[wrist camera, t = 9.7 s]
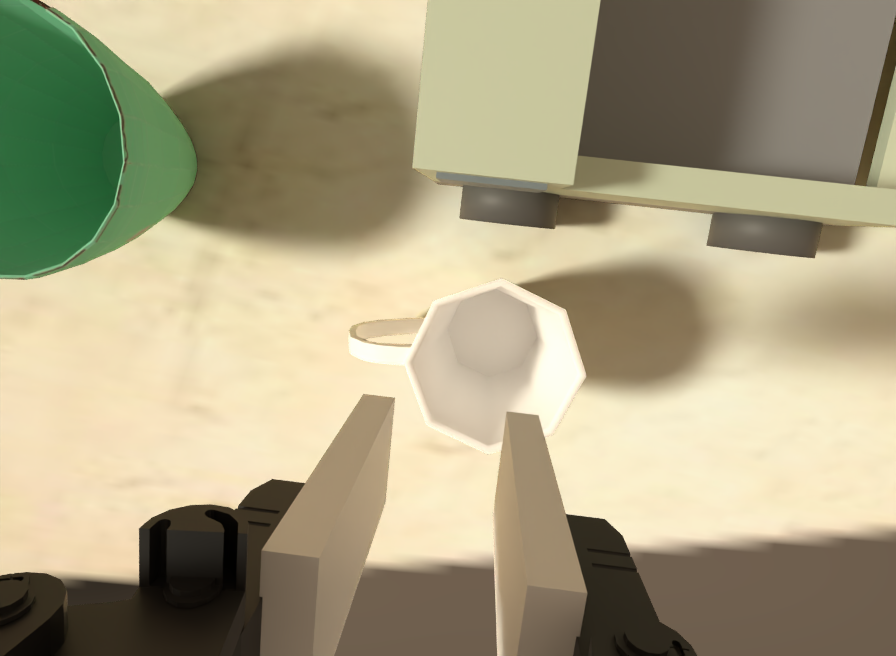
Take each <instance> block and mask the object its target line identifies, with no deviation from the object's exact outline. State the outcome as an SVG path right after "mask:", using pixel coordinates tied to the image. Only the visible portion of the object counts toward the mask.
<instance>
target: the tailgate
mask: <svg viewBox="0 0 896 656" xmlns="http://www.w3.org/2000/svg"><path fill="white" fill-rule="evenodd" d="M866 186H868V187H877V188H886V189H896V67H895V71H894V75H893V79H892V83H891V87H890V91H889V95H888V99H887V104H886V108H885V112H884V116H883V120H882V124H881V128H880V132H879V136H878V140H877V144H876V148H875V152H874V156H873V160H872V164H871V168H870V172H869V176H868V180H867V184H866Z"/></svg>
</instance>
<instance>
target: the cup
mask: <svg viewBox="0 0 896 656" xmlns="http://www.w3.org/2000/svg"><path fill="white" fill-rule="evenodd" d="M404 334H417V336H416V338H415V340H414V342H413V344H386V343H376V342H370V341H367V340H365V339H368V338H374V337H382V336H392V335H404ZM349 351H350V354H351V355H353V356H355V357H357V358H359V359H361V360H364V361H369V362H374V363H381V364H391V365H405V368H406V371H407V373H408V376H409V379H410V381H411V384H412V387H413V390H414V392H415V395H416V398H417V400H418V403H419V406H420V409H421V411H422V414H423V417H424V419H425V422H426V425H427V426H429V427H431V428H433V429H435V430H438V431H440V432H442V433H444V434H446V435H448V436H450V437H452V438H454V439H456V440H458V441H460V442H462V443H465V444H467V445H469V446H471V447H473V448H475V449H477V450H479V451H481V452H483V453H485V454H487V455H488V454H492V453H495V452H498V451H501V450H502V442H503V435H504V427H505V420H506V412H507V411H508V412H516V413H525V414H533V415H539V419H540V423H541V426H542V430H543V433H544V437H549V436H552V435H554V433H555V431H556V429H557V428H558V426H559V424H560V422H561V421H562V419H563V417H564V415H565V413H566V412H567V410H568V408H569V406H570V405H571V403H572V401H573V399H574V397H575V396H576V394H577V392H578V390H579V389H580V387H581V385H582V383H583V381H584V380H585V378H586V376H587V375H586V372H585V369H584V366H583V362H582V359H581V356H580V353H579V350H578V347H577V343H576V340H575V337H574V334H573V331H572V327H571V324H570V321H569V318H568V315H567V311H566V309H563V308H561V307H559V306H557V305H555V304H553V303H551V302H549V301H547V300H545V299H543V298H541V297H539V296H537V295H535V294H533V293H531V292H529V291H527V290H525V289H523V288H521V287H519V286H517V285H515V284H513V283H511V282H509V281H507V280H505V279H503V278H500V279H497V280H494V281H491V282H488V283H485V284H482V285H479V286H476V287H473V288H470V289H467V290H464V291H461V292H458V293H455V294H452V295H449V296H446V297H443V298H440V299H437V300H434V301H433V303H432V305H431V307H430V309H429V311H428V313H427V315H426V317H425V318H405V319H388V320H376V321H369V322H362V323H359V324H356V325H353V326H352V327H351V329H350V330H349Z"/></svg>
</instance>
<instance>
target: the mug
mask: <svg viewBox="0 0 896 656" xmlns="http://www.w3.org/2000/svg"><path fill="white" fill-rule="evenodd" d="M196 173H197V158H196V152H195V149H194V147H193V144H192V141H191V139H190V137H189V135H188V134H187V132H186V130H185V128H184V127H183V125H182V124H181V122H180V121H179V119H178V118H177V117H176V115H175V114H174V113H173V111H172V110H171V108H170V107H169V106H168V104H167V103H166V102H165V101H164V100H163V99H162V97H161V96H160V95H159V94H158V93H157V92H156V90H155V89H154V88H153V87H152V86H151V85H150V83H149V82H148V81H146V80H145V79H144V78H143V77H142V76H140V75H139V74H138V73H137V72H135V71H134V70H133V69H132V68H131V67H129V66H128V65H127V64H126V63H125V62H123V61H122V60H121V59H120V58H119V57H118V56H117V55H116V54H114V53H113V52H112V51H111V50H110V49H109V48H108V47H107V46H105V45H104V44H103V43H102V42H101V41H100V40H99V39H97V38H96V37H95V36H94V35H92V34H91V33H89V32H88V31H87V30H85V29H84V28H82V27H81V26H80V25H78V24H77V23H75V22H74V21H73V20H71V19H70V18H68V17H67V16H66V15H64V14H63V13H61V12H60V11H58V10H57V9H55V8H53V7H52V8H51V7H49V6H48V5H46V4H45V3H43V2H41V1H39V0H0V279H23V280H27V279H33V278H40V277H43V276H47V275H50V274H53V273H56V272H59V271H62V270H65V269H69V268H72V267H75V266H78V265H81V264H84V263H86V262H88V261H90V260H92V259H95V258H97V257H99V256H102V255H104V254H107V253H109V252H111V251H114V250H116V249H118V248H119V247H121V246H123V245H125V244H127V243H129V242H130V241H132V240H134V239H136V238H138V237H139V236H140V235H142V234H143V233H144V232H146V231H147V230H148V229H150V228H151V227H153V226H154V225H155V224H157V223H158V222H159V221H161V220H162V219H163V218H164V217H166V216H167V215H168V214H170V213H171V212H172V211H173V210H175V209H176V208H177V206H178V205H179V204H180V203H181V202H182V201H183V199H184V198H185V197H186V196H187V194H188V193H189V191H190V189H191V188H192V186H193V185H194V181H195V177H196Z"/></svg>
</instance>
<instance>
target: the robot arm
mask: <svg viewBox="0 0 896 656" xmlns="http://www.w3.org/2000/svg"><path fill="white" fill-rule="evenodd" d="M394 403H395V398H392V397H384V396H375V395H367V394H363V396H362V397H361V399H360V400H359V402H358V404H357V405H356V407H355V408H354V410H353V411H352V413H351V414H350V416H349V417H348V419H347V420H346V422H345V423H344V425H343V426H342V428H341V429H340V431H339V433H338V434H337V436H336V437H335V439H334V440H333V442H332V443H331V445H330V446H329V448H328V449H327V451H326V452H325V454H324V455H323V457H322V459H321V460H320V462H319V463H318V465H317V466H316V468H315V469H314V471H313V472H312V474H311V475H310V477H309V478H308V480H307V481H306V483H299V482H291V481H283V480H275V479H272V480H270V481H268V482H266V483H264V484H262V485H261V486H259V487H257V488H255V489H253V490H251V491H250V492H249V494H248V495H247V496H246V497H245V498H244V500H243V501H242V502H241V503H240V504H239V506H238V509H235V510H233V509H231V508H229V507H223V506H217V505H190V506H185V507H181V508H176V509H172V510H168V511H166V512H164V513H162V514H159V515H157V516H155V517H153V518H151V519H150V520H149V521H147V522H146V523H145V524H144V525H143V526H141V527H140V528H139V588H138V589H137V591H136V592H135V594H134V595H133V597H132V598H131V599H129V600H122V601H116V602H107V603H96V604H85V605H74V606H67V589H66V588H65V586H64V584H63V582H62V581H61V580H60V579H58V578H56V577H53V576H51V575H49V574H44V573H30V572H24V573H15V574H7V575H1V576H0V656H334V654H335V651H336V648H337V645H338V642H339V639H340V636H341V633H342V630H343V627H344V624H345V621H346V618H347V615H348V612H349V609H350V606H351V603H352V600H353V597H354V594H355V591H356V588H357V585H358V582H359V579H360V576H361V573H362V570H363V567H364V564H365V561H366V558H367V555H368V552H369V549H370V547H371V544H372V541H373V538H374V535H375V532H376V529H377V526H378V523H379V520H380V517H381V514H382V511H383V508H384V505H385V501H386V490H387V479H388V468H389V457H390V446H391V435H392V424H393V414H394ZM493 539H494V569H495V598H496V629H497V656H697V655H696V653H695V651H694V649H693V648H692V646H691V645H690V644H689V643H688V642H687V641H686V640H685V639H684V638H683V637H682V636H681V635H680V634H678V633H677V632H676V631H674V630H673V629H671V628H669V627H668V626H666V625H664V624H662V623H661V622H659V619H658V617H657V615H656V612H655V610H654V608H653V605H652V603H651V601H650V598H649V596H648V594H647V592H646V589H645V587H644V585H643V582H642V580H641V578H640V575H639V573H637V569H636V566H635V564H634V561H633V559H632V557H630V552H629V550H628V548H627V545H626V543H625V541H624V538H623V536H622V535H621V534H620V533H619V532H618V531H617V530H616V529H615V528H614V527H613V526H611V525H610V524H609V523H608V522H607V521H606V520H605V519H600V518H592V517H584V516H576V515H568V514H566V513H565V510H564V506H563V503H562V499H561V495H560V492H559V488H558V484H557V481H556V477H555V473H554V470H553V466H552V463H551V459H550V455H549V452H548V448H547V444H546V441H545V437H544V433H543V430H542V426H541V423H540V419H539V415H533V414H525V413H516V412H508V411H507V412H506V420H505V427H504V435H503V442H502V450H501V457H500V465H499V472H498V480H497V487H496V495H495V502H494V510H493Z"/></svg>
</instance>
